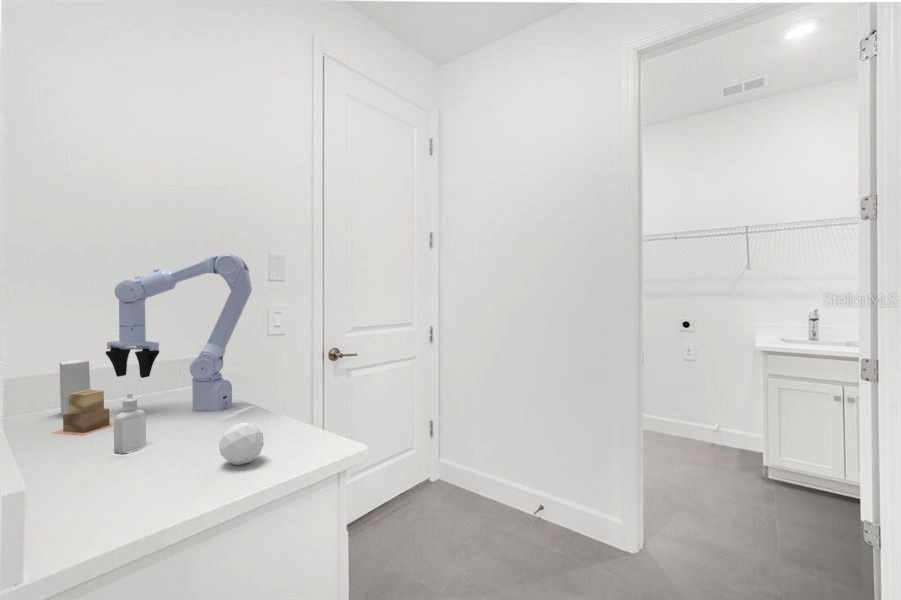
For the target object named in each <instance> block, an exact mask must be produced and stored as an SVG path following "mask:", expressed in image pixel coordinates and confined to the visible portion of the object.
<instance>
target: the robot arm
mask: <svg viewBox="0 0 901 600" xmlns="http://www.w3.org/2000/svg"><path fill="white" fill-rule="evenodd" d="M206 274H213V275H214V274H215V275H219V276H220V277H222V279H224V281H225V282H226V284H227V286H228V287H229V289H230V293H229V295H228V297H227V299H226V302H225V303H224V306H223V308H222V310H221V312H220V315H219V316H218V318H217V321H216V323H215V324H214V327H213V330H212V331H211V334H210V336H209V338H208V339H207V342H206V344H205V345H204V346H203V348H202V349H201V350H200V353H199V355H198V356H197V357H196V358H195V359H193V360H192V361H191V363H190V365H189V372H190V374H191V376H192V384H191V385H192V386H191V387H192V411H196V412H220V411H223V410H227V409H229V408H231V407H233V387H232V386H233V385H232V382H231V381H230V380H228V379H224V378H223V374H222V373H221V370H222V369H223V366H224V356H225V353H226V349H227V346H228V344H229V341H230V339H231V337H232V335H233V333H234V331H235V328H236V326H237V324H238V322H239V319H240V318H241V316H242V314H243V311H244V309H245V308H246V307H245V306H246V305H247V303H248V300H249V299H250V296H251V294H252V292H253V291H252V290H253V289H252V283H251V278H250V269H249V267H248V265H247V264H246V262H245V261H244V259H243V258H241V257H239V256H237V255H234V254H231V253H222V254H220V255H219V256H218V255H214V256H211V257H207V258H205V259H202V260H199V261H196V262H193V263H191V264H188V265H186V266H183V267H180V268H178V269H175V270H173V271H170V270H168V269H161V268H156V269H154V270H153V271H152V272H151V273H148V274H146V275H143V276H140V275H137V276H134V280H131V279H125V280H122V281H121V282H119V283H117V284H116V286H115V288H114V295H115V298H116V299H118V330H119V331H118V332H119V333H118V334H119V335H118V339H119V341H118V340H114V341H113V340H112V341H107V342H106V349H107V350H106V351H105V355H106V356H107V357H108V359H109V360H110V362H111V364H112V366H113V369H114V372H115V375H116V377H118V378H119V377H123V376H126V375H127V372H128V369H127V367H128V359H129V355H130V352H131V350H136V351H135V352H134V354H135V356H136V359H137V362H138V367H139V368H138V369H139V376H140V379H141V378H142V379H143V378H144V379H145V378H149V377H150V375H151V371H152V369H153V365H154V363H155V361H156V359H157V357H158V355H159V354H160V345H159V343H160V342H156V341H155V342H154V341H147V340H146V338H147V334H146V333H147V331H146V300H147V299H148V298H151V297H154V296H158V295H160V294H163V293H165V292H168V291H171V290H174V289H175V287H176V285H177V284H178V283H179V282H182V281H185V280H186V281H187V280H189V279H192V278H195V277H200V276H202V275H206Z"/></svg>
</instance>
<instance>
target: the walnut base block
mask: <svg viewBox="0 0 901 600" xmlns="http://www.w3.org/2000/svg"><path fill="white" fill-rule="evenodd" d="M110 423H111V421H110V408H105V407H104V409H103V410H100V411H96V412H92V413H88V414H71V413H65V414H63V416H62V430H63V431H66V432H78V433H86V432H89V431H92V430H96V429H99V428H102V427H105V426H109V425H110Z"/></svg>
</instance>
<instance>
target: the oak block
mask: <svg viewBox="0 0 901 600" xmlns="http://www.w3.org/2000/svg"><path fill="white" fill-rule="evenodd" d="M104 394H105V392H104V390H99V389H90V390H85V391H80V392H76V393H71V394H69V413H71V414H88V413H92V412H96V411H100V410H103V409H104V408H105V395H104Z"/></svg>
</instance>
